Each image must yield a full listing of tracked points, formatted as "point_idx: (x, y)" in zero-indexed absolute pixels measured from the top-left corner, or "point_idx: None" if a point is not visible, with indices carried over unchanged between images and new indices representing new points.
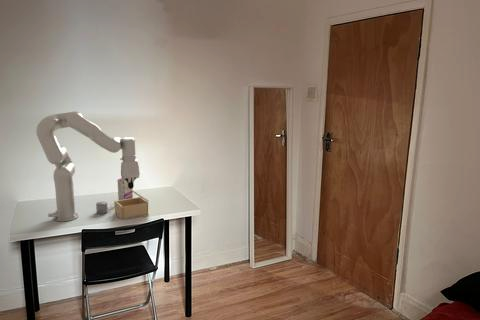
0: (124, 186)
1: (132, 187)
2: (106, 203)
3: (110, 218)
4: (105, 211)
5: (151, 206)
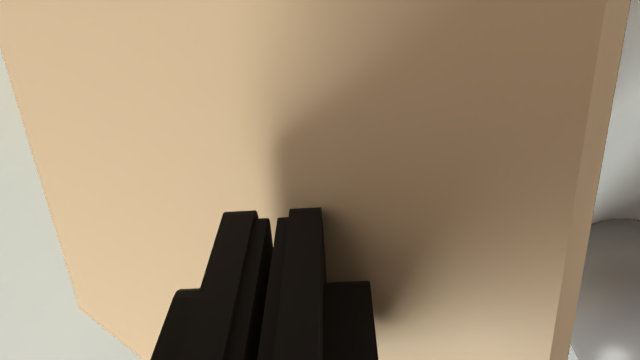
0: (575, 307)
1: (245, 226)
2: (616, 325)
3: (636, 21)
4: (606, 238)
5: (3, 198)
